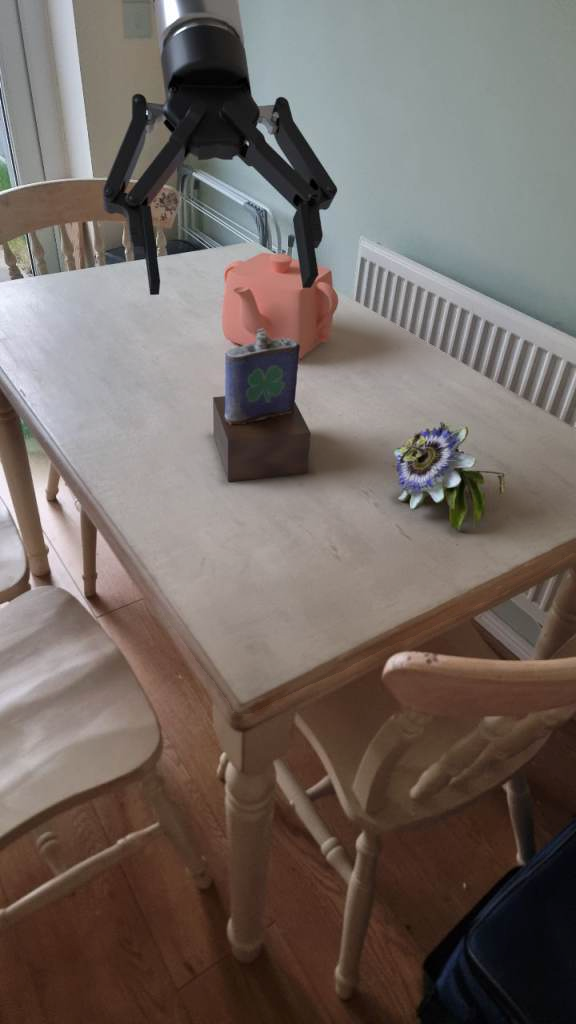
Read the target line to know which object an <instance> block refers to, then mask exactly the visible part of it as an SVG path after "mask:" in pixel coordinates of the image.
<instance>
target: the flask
mask: <svg viewBox="0 0 576 1024" xmlns="http://www.w3.org/2000/svg"><path fill="white" fill-rule="evenodd" d="M257 331H258V332H260V331H263V332H260V333H257V338H256V340H254V342H255V343H253V344H249V345H244V346H243V345H241V346H238V347H233V348H229V349H228V350H226V352H225V353H224V354H225V355H224V356H225V358H224V359H225V361H224V362H225V363H224V365H225V366H224V368H225V371H224V372H225V373H224V374H225V375H224V390H225V392H224V396H225V419H226V421H227V422H228V423H229V424H245V423H246V422H250V421H257V420H262V419H265V418H266V417H267V416H271V417H273V416H275V415H282V414H287V413H292V412H293V410H295V409H294V405H295V403H296V392H297V383H298V382H297V381H298V370H299V360H300V359H299V350H300V345H299V344H298V343H297V342H296V341H294V340H293V339H284V338H278V339H281V340H277V339H276V340H271V339H270V338H268V337H267V336H266V332H267V331H264V329H258V330H257ZM253 333H256V332H255V331H254V332H253Z"/></svg>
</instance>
